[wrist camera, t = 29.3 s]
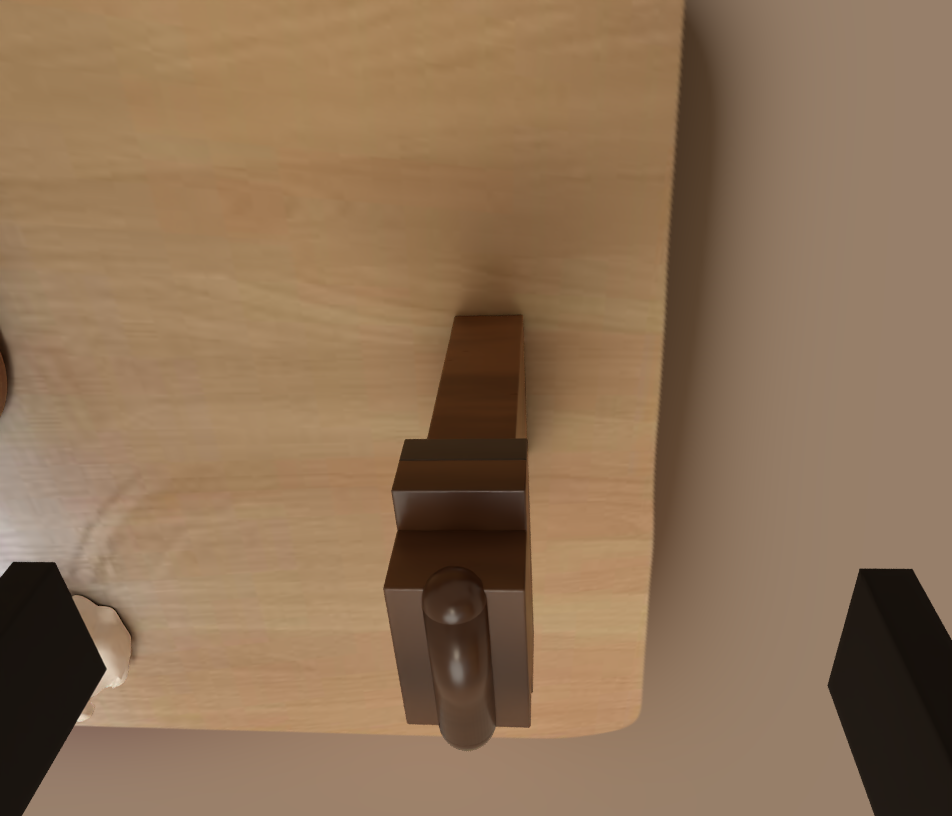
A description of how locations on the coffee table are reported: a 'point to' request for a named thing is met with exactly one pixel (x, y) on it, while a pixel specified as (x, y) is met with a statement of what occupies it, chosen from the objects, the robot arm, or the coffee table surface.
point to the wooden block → (482, 381)
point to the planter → (2, 384)
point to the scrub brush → (463, 586)
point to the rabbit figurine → (105, 645)
